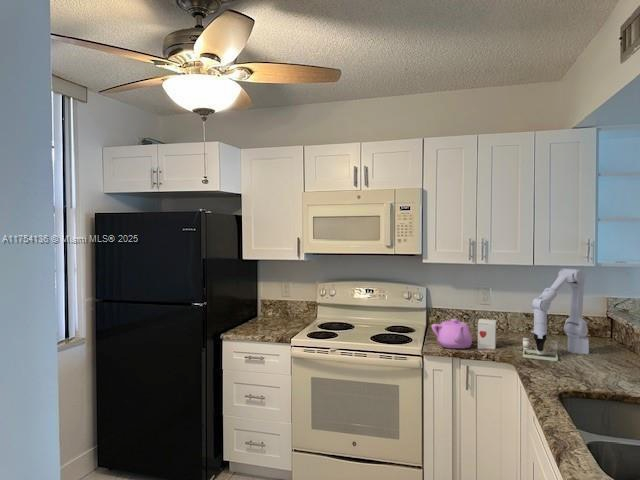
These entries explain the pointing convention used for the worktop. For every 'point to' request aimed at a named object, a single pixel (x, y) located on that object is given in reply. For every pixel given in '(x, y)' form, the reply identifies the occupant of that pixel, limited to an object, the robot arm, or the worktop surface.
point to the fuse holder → (543, 350)
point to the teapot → (453, 334)
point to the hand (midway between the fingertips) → (540, 350)
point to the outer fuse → (526, 343)
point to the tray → (540, 356)
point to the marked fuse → (539, 352)
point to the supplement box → (486, 334)
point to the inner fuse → (554, 346)
